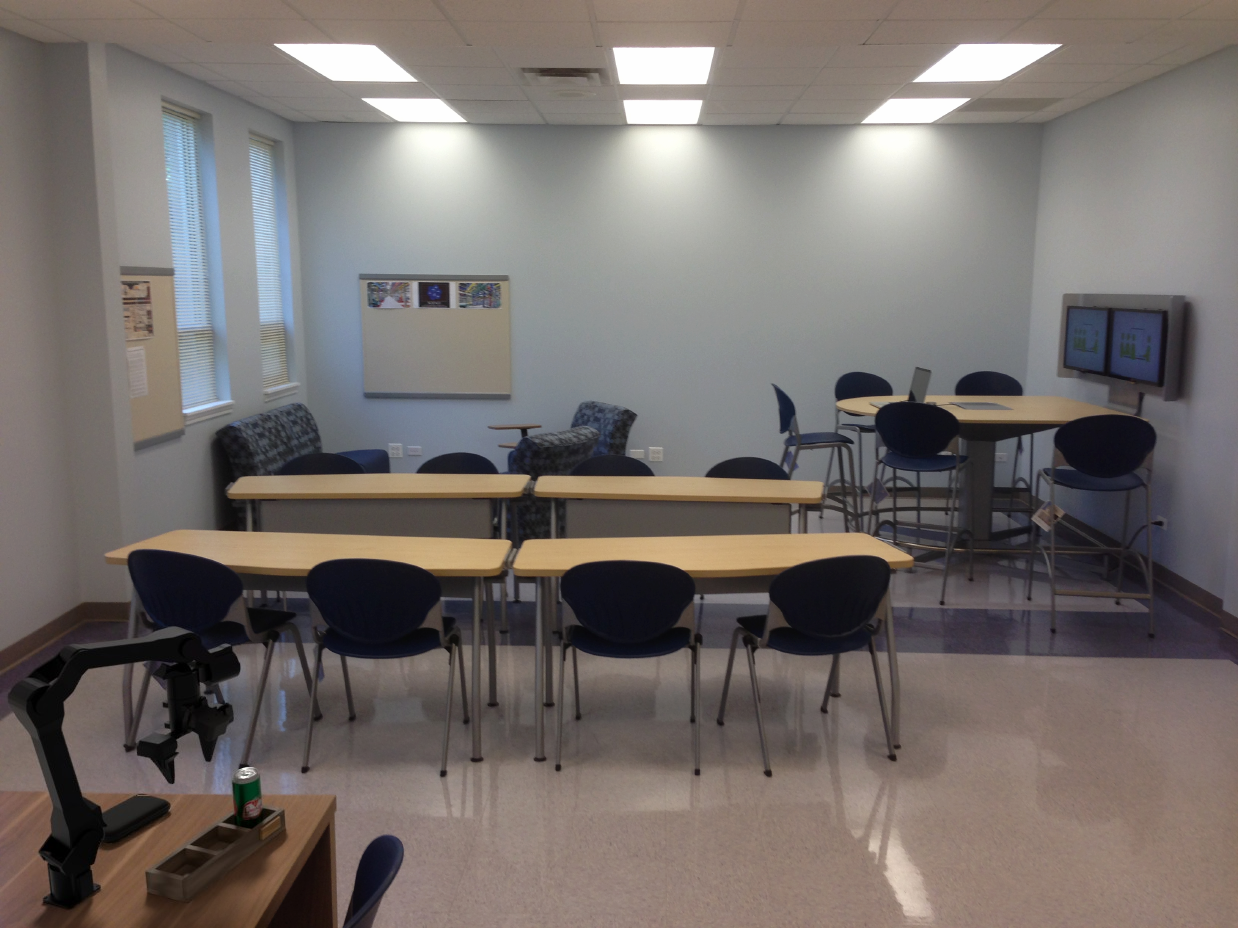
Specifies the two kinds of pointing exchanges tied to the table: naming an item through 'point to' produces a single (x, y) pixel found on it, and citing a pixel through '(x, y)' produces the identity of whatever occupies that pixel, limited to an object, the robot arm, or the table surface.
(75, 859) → the robot arm
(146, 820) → the carrying case or bag
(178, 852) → the can rack
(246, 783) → the soda can
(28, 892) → the table surface
